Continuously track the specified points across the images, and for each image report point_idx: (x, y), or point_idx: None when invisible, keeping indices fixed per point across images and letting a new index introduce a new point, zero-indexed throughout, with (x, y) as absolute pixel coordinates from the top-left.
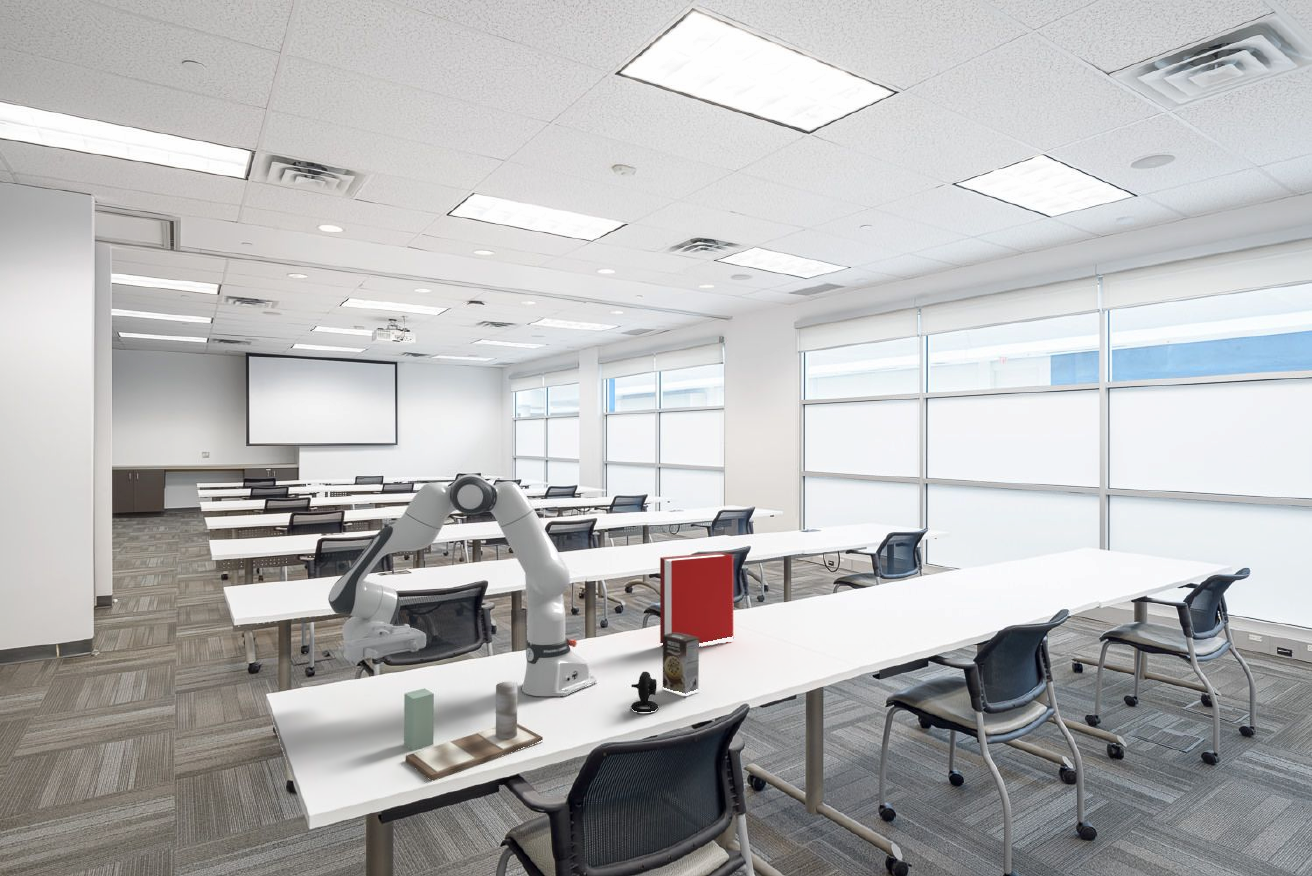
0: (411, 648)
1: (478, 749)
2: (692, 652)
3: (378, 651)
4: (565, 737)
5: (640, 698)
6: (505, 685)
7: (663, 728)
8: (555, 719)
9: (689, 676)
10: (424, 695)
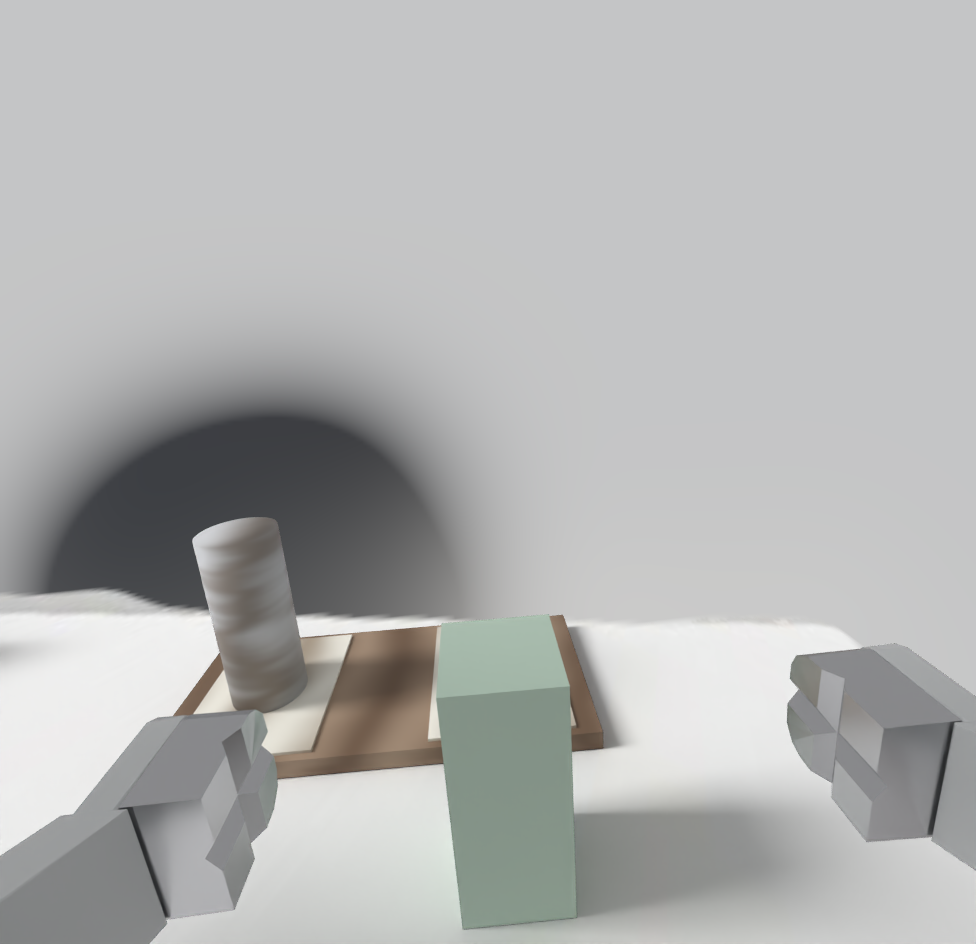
0: (243, 805)
1: (395, 661)
2: None
3: (851, 651)
4: (169, 652)
5: None
6: (242, 530)
7: (35, 598)
8: (3, 761)
9: None
10: (488, 622)
